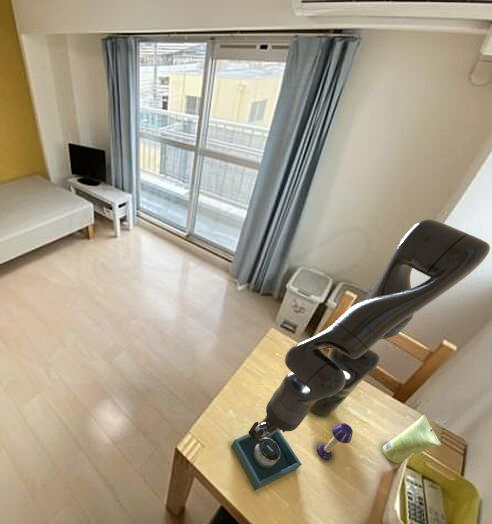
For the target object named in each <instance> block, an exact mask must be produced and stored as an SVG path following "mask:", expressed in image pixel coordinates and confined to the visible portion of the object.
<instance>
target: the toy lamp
mask: <svg viewBox="0 0 492 524" xmlns="http://www.w3.org/2000/svg"><path fill="white" fill-rule="evenodd" d="M353 431H354V430H353V428H352V427H351V426H350V424H348V423H344V422H343V423H338V424H336V425H334V426H332V428H331V433H332V435H333V437H332V438H331V439H330V440H329V441H328V442H327V443H326V444H318V445H317V446H316V453H317V455H318V456H319V457H320V459H322V460H324V461H330V460H331V459H332V458H333V452H332V450H333V449H334V448H335V447H337V445H338V444H339V443H342V444H349V443H350V442H351V441H352V438H353V433H354V432H353Z"/></svg>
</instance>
